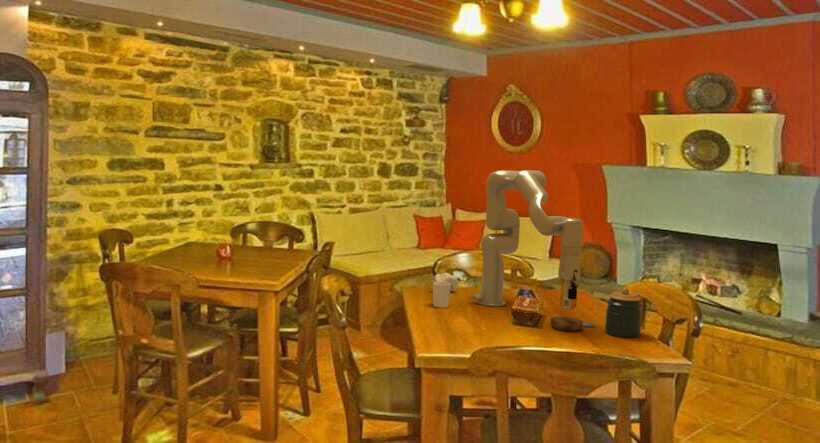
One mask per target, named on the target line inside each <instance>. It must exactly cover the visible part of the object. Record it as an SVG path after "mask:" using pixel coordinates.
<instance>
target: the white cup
mask: <svg viewBox="0 0 820 443" xmlns="http://www.w3.org/2000/svg"><path fill="white" fill-rule="evenodd" d="M450 290H451V283H448V282H435V281H433V282H432V305H433V307H434V308H443V309H444V308H449V307H450V300H451V299H450V298H451V292H450Z"/></svg>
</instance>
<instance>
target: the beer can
mask: <svg viewBox="0 0 820 443" xmlns="http://www.w3.org/2000/svg"><path fill="white" fill-rule="evenodd" d="M572 280H575V279H572ZM573 283H574V282H572V284H573ZM569 289H570V287H569V281H565V280H564V272H562V278H560V299H559V300H560V301H559V307H560V308H561V309H563V310H566V311H567V310H568V311H569V310H570V311H573V310H575V309H576V308H577V300H578V299H577V298H578V297H577V298H576V299H568V290H569Z"/></svg>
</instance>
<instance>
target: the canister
mask: <svg viewBox="0 0 820 443" xmlns="http://www.w3.org/2000/svg"><path fill="white" fill-rule="evenodd" d="M641 299H642V297H640V296H639V295H637V294H636V293H634V292H630V290H629V288H628V287H623V288H621V291H614V292H612V293H610V294H609V299H607V300H606V303H607V308H605V322H604V323H605V324H604V331H605V333H606V334H608V335H610V336H613V337H619V338H624V339H625V338H626V339H628V338H629V339H632V338H633V339H634V337H635V338H639V337H640V336H641V332H642V327H641V326H642V316H643V312H642V308H643V306H644V304H643V302H641Z"/></svg>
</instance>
